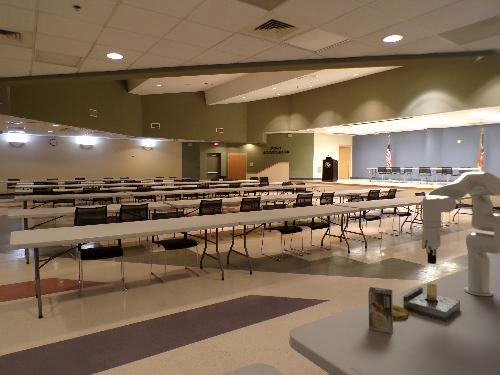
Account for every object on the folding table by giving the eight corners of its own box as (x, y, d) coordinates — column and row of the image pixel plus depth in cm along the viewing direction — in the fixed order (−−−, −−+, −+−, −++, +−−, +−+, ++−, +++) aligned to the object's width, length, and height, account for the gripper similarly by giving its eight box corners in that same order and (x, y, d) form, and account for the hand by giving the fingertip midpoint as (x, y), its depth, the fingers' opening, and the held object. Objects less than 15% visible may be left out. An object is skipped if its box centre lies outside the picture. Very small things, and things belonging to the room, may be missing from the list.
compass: (388, 307, 159) (388, 302, 159) (413, 315, 150) (413, 310, 150) (374, 314, 152) (374, 309, 152) (399, 323, 142) (399, 318, 142)
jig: (419, 299, 167) (419, 286, 167) (459, 310, 154) (460, 296, 153) (403, 309, 155) (403, 296, 155) (445, 322, 142) (445, 307, 141)
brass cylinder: (428, 303, 157) (428, 282, 157) (438, 305, 154) (438, 284, 154) (425, 305, 155) (425, 284, 154) (434, 308, 152) (434, 286, 151)
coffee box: (393, 327, 138) (393, 289, 138) (392, 334, 133) (392, 294, 132) (370, 323, 143) (370, 286, 142) (368, 329, 137) (368, 291, 136)
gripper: (429, 221, 160) (429, 258, 161) (416, 225, 151) (416, 265, 152) (446, 222, 155) (446, 261, 156) (434, 227, 145) (434, 268, 146)
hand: (432, 263), depth 154 cm, fingers closed
